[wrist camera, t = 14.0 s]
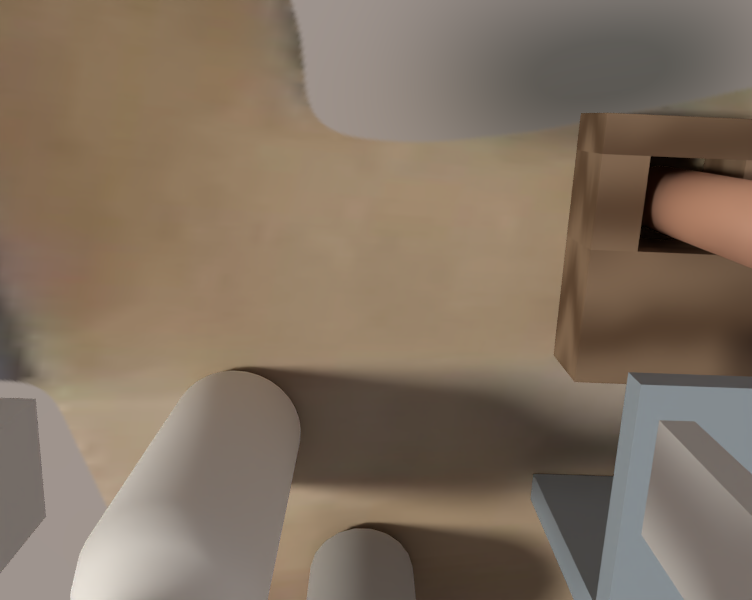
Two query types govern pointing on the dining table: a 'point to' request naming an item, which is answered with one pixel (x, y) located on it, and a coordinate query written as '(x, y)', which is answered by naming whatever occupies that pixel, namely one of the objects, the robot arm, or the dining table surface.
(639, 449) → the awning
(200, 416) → the alcohol
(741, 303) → the socket
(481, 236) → the dining table surface
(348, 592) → the can
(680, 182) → the peg
